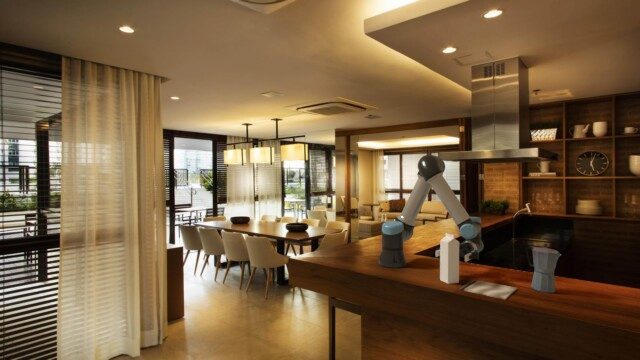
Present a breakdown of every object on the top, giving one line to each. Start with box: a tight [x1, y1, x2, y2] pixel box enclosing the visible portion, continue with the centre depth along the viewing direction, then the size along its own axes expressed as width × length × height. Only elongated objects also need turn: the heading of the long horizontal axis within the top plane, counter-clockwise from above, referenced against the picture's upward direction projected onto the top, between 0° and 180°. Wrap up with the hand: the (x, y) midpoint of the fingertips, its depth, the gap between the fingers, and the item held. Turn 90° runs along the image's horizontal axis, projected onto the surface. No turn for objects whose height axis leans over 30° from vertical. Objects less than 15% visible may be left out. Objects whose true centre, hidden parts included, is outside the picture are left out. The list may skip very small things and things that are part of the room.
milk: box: [439, 232, 460, 285], centre depth 162 cm, size 6×6×22 cm
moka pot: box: [525, 243, 562, 294], centre depth 151 cm, size 10×15×20 cm, turn 28°
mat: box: [457, 279, 518, 300], centre depth 151 cm, size 19×18×1 cm
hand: (450, 256), depth 161 cm, fingers open, 13 cm apart
